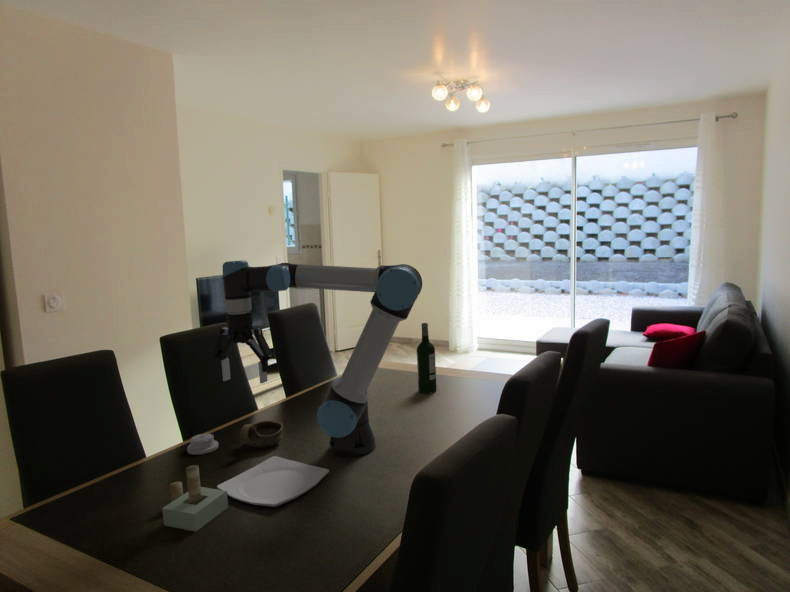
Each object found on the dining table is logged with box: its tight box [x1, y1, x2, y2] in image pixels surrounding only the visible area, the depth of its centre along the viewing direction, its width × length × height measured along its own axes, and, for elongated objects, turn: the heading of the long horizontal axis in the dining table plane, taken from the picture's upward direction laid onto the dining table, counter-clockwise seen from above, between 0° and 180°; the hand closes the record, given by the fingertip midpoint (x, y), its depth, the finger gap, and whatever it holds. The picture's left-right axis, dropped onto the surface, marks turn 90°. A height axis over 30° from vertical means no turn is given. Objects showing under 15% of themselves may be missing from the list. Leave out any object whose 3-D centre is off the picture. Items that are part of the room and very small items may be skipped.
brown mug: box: [239, 419, 284, 448], centre depth 179 cm, size 14×18×10 cm
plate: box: [216, 455, 330, 508], centre depth 151 cm, size 24×24×3 cm
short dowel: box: [169, 480, 184, 502], centre depth 142 cm, size 3×3×6 cm
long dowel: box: [185, 464, 202, 505], centre depth 135 cm, size 3×3×13 cm
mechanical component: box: [186, 433, 219, 456], centre depth 180 cm, size 10×4×10 cm
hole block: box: [161, 486, 229, 532], centre depth 136 cm, size 10×12×4 cm
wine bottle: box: [416, 322, 437, 394], centre depth 232 cm, size 8×8×30 cm
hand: (245, 381), depth 163 cm, fingers open, 13 cm apart
